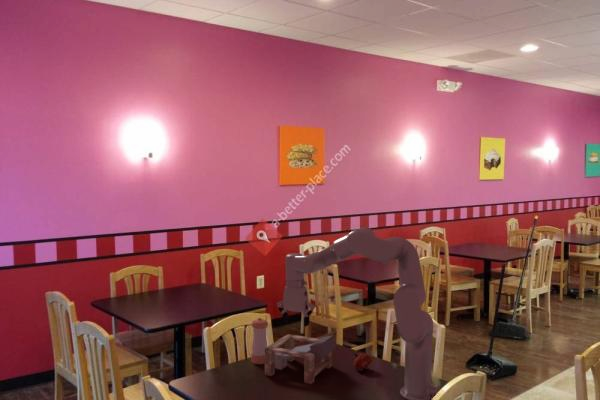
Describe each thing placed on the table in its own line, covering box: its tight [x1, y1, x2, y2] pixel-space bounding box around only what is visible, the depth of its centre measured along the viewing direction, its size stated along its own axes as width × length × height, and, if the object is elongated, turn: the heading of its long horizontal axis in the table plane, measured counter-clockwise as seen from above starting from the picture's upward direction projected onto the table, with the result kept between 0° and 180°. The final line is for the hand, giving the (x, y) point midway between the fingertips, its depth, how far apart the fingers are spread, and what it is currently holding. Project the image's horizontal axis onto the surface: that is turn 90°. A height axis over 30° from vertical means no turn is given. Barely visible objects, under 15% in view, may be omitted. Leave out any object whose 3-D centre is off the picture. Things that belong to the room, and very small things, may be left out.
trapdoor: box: [277, 334, 337, 360], centre depth 219 cm, size 21×14×5 cm
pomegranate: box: [353, 352, 373, 372], centre depth 222 cm, size 7×7×10 cm
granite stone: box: [275, 353, 288, 371], centre depth 226 cm, size 5×5×6 cm
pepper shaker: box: [250, 317, 269, 365], centre depth 231 cm, size 7×7×19 cm
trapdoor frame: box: [264, 333, 333, 385], centre depth 221 cm, size 21×21×11 cm
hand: (295, 324), depth 221 cm, fingers open, 9 cm apart
